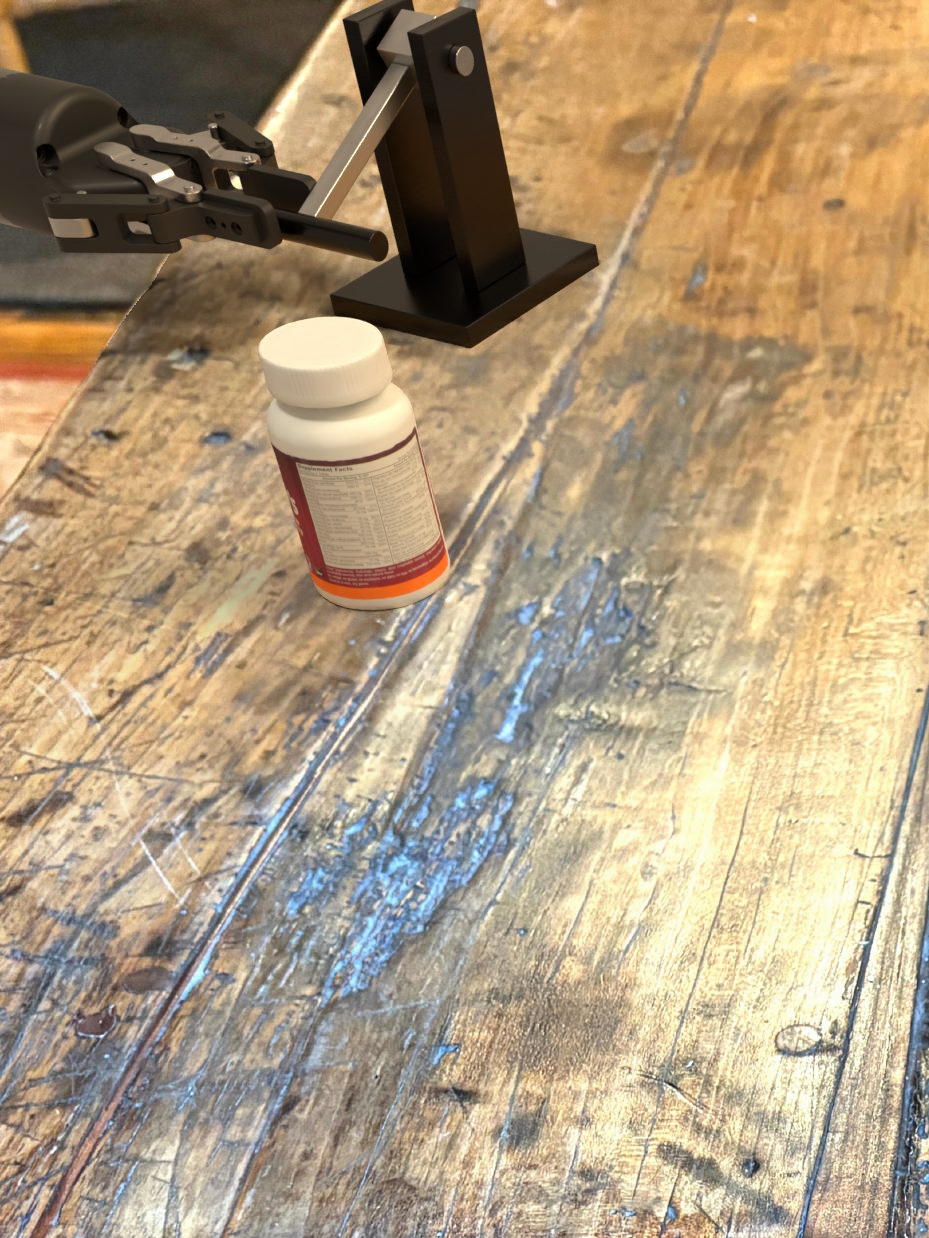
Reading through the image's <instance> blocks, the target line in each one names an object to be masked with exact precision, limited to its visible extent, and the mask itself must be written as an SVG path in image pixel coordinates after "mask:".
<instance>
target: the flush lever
mask: <svg viewBox="0 0 929 1238" xmlns="http://www.w3.org/2000/svg"><path fill="white" fill-rule="evenodd" d="M437 17H438V16H437V15H435V14H430V13H424V12H420V11H416V10H415V11H410V10H405V9H401V11H400V12H399V14H398V15H397V17H396V19H395V20H394V22H393V23H392V25H391V26H390V28H389V30H388V31H387V33H386V34H385V36H384V38H383V39H382V41H381V42H380V44H379V45H378V47H377V51H378V52H379V54H380V56H381V57H382V59H383V61H384V62H385V64H386V66H387V67H388V70H387V71H386V73H385V74H384V76H383V78H382V79H381V81H380V82H379V84H378V85H377V87H376V89H375V90H374V92H373V93H372V95H371V97H370V98H369V100H368V101H367V103H366V105H365V106H364V108H362V109H361V111H360V113H359V114H358V116H357V117H356V119H355V120H354V122H353V124H352V126H351V127H350V129H348V132H347V133H346V135H345V137H344V138H343V140H342V141H341V143H340V144H339V146H338V148H337V149H336V151H335V152H334V153H333V156H332V157H331V159H330V160H329V162H328V164H327V165H326V166H325V168H324V170H323V171H322V173H321V174H320V176H319V178H318V180H316V182H317V183H316V184H315V186H314V187H313V189H312V191H311V192H310V194H309V195H308V197H307V199H306V200H305V202H304V203H303V205H302V207H301V208H300V210H299V211H298V212H295V211H291V210H286V209H282V208H277V207H273V208H274V210H275V213H276V216H277V220H278V223H279V227H280V230H281V234H282V238H283V240H282V241H287V242H291V243H295V244H300V245H304V246H308V247H312V248H317V249H321V250H325V251H329V252H334V253H338V254H343V255H347V256H351V257H355V258H359V259H363V260H368V261H372V262H376V263H380V262H383V261H385V260H386V258H387V257H388V254H389V249H390V244H389V240H388V237H387V235H386V234H385V233H384V232H383V231H381V230H377V229H373V228H368V227H364V226H359V225H355V224H352V223H347V222H342V221H338V220H333V218H334V216H336V215H335V214H336V213H337V212H338V210H339V208H340V207H341V205H342V204H343V202H344V200H345V199H346V197H347V195H348V194H349V192H350V191H351V189H352V188H353V186H354V184H355V183H356V181H357V179H358V178H359V176H360V175H361V173H362V171H363V170H364V169H365V166H366V165H367V164H368V161H369V160H370V158H371V157H372V155H373V154H374V150H375V149H376V147H377V146H378V144H379V142H380V141H381V139H382V138H383V136H384V134H385V133H386V131H387V129H388V128H389V126H390V125H391V123H392V121H393V120H394V118H395V117H396V115H397V113H398V112H399V110H400V109H401V107H402V105H403V104H404V102H405V101H406V99H407V97H408V96H409V94H410V92H411V91H412V89H413V90H418V91H420V89H419V85H418V80H417V76H416V71H415V67H414V62H413V58H412V53H411V49H410V44H409V40H408V35H407V32H408V31H410V30H412V29H414V28H416V27H418V26H421V25H423V24H425V23H427V22H429V21H431V20H433V19H435V18H437Z"/></svg>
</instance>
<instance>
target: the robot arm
mask: <svg viewBox="0 0 929 1238" xmlns="http://www.w3.org/2000/svg"><path fill="white" fill-rule="evenodd" d="M206 118H207V121H208V125H207V128H208V129H207V130H204V131H200V132H199V131H198V132H195V133H191V134H186V133H185V132H184V131H183V130H181V129H178V128H176V127H172V126H162V125H154V124H149V123H147V124H146V123H144V124H143V123H142V124H141V122H139V121H138V120H137V119H136V118H135V117H134V116H133V115H132V114H131V113H130V112H129V111H128V110H127V109H126V108H125V107H124V106H123V105H122V104H121V103H120V102H119V101H117V100H116V99H115V98H114V97H112V96H111V95H110V94H108V93H106V92H105V91H102V90H101V89H98V88H96V87H93V86H89V85H84V84H79V83H74V82H70V81H66V80H61V79H57V78H52V77H47V76H43V75H37V74H35V73H34V74H33V73H28V72H23V71H20V70H14V69H10V68H5V67H0V224H3V225H6V226H10V227H15V228H20V229H23V230H27V231H32V232H36V233H40V234H45V235H48V236H53V237H54V238H55V241H56V244H57V246H58V249H59V251H60V252H62V253H68V254H149V255H150V254H151V255H152V254H157V255H158V254H159V255H160V254H161V255H167V254H168V255H169V254H175V253H177V252H180V251H181V250H182V249H183V245H182V242H181V241H182V240H184V239H186V240H190V241H192V242H196V243H209V242H212V241H214V240H216V239H217V238H218V239H222V240H226V241H229V242H230V241H231V242H235V243H239V244H244V245H248V246H251V247H256V248H261V249H265V250H272V249H274V248H276V247H277V246H279V245H281V244H282V243H283V241H284V240H283V238H282V234H281V230H280V227H279V223H278V220H277V216H276V213H275V210H274V208H273V207H277V208H282V209H286V210H291V211H295V212H298V211H299V210H300V208H301V207H302V205H303V203H304V202H305V200H306V199H307V197H308V195H309V194H310V192H311V191H312V189H313V187H314V186H315V184H316V183H317V180H316V178H314V177H313V176H312V175H309V174H305V173H301V172H297V171H292V170H287V169H282V168H279V164H278V161H277V157H276V154H275V153H276V150H275V146H274V142H273V141H272V140H271V139H270V138H268V137H267V136H265V135H264V134H262V133H261V132H260V131H258V130H257V129H255V128H254V127H252V126H250V125H249V124H248V123H246V122H245V121H244V120H242V119H241V118H239V117H237V116H236V115H234V114H233V113H232V112H230V111H227V110H215V111H212V112H210V113H208V114H207V116H206ZM230 173H233V174H234V175H235V176H237V177H238V178H239V183H240V184H241V188H237V187H236V186H234V184H233V182H232V180H231V176H230ZM137 232H142V233H137Z"/></svg>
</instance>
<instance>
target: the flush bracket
mask: <svg viewBox="0 0 929 1238" xmlns="http://www.w3.org/2000/svg"><path fill="white" fill-rule="evenodd" d="M401 9H405V10H410V11H415V12H416V10H415V5H414V1H413V0H380V1H378V2H376V3H374V4H372V5H370V6H367V7H365V8H363V9H361V10H359V11H356V12H354V13H352V14H349V15H348V16H346V17H344V18H342V19H341V21H342V24H343V28H344V33H345V37H346V41H347V46H348V50H349V53H350V58H351V63H352V67H353V71H354V75H355V79H356V82H357V83H356V84H357V88H358V92H359V96H360V99H361V104H362V107H363V108H364V106H365V105H366V103H367V101H368V100H369V98H370V97H371V95H372V93H373V92H374V90H375V89H376V87H377V85H378V84H379V82H380V81H381V79H382V78H383V76H384V74H385V73H386V71H387V70H388V67H387V66H386V64H385V62H384V61H383V59H382V57H381V56H380V54H379V52H378V51H377V47H378V45H379V44H380V42H381V41H382V39H383V38H384V36H385V34H386V33H387V31H388V30H389V28H390V26H391V25H392V23H393V22H394V20H395V19H396V17H397V15H398V14H399V12H400V11H401ZM407 35H408V40H409V44H410V49H411V53H412V58H413V62H414V67H415V71H416V76H417V80H418V85H419V89H420V91H418V90H413V89H412V91H411V92H410V94H409V96H408V97H407V99H406V101H405V102H404V104H403V105H402V107H401V109H400V110H399V112H398V113H397V115H396V117H395V118H394V120H393V121H392V123H391V125H390V126H389V128H388V129H387V131H386V133H385V134H384V136H383V138H382V139H381V141H380V142H379V144H378V146H377V147H376V149H375V150H374V152H373V154H374V158H375V162H376V166H377V170H378V174H379V179H380V183H381V186H382V191H383V194H384V195H383V196H384V200H385V203H386V207H387V211H388V217H389V219H390V223H391V229H392V233H393V235H394V241H395V244H396V248H397V254H396V255H395V256H393V257H391V258H389V259H388V260H386V261H384V262H382V263H381V264H379V265H377V266H376V267H374V268H373V269H371V270H369V271H367V272H366V273H364V274H362V275H360V276H358V277H357V278H355V279H353V280H352V281H350V282H348V283H347V284H345V285H343V286H342V287H340V288H338V289H336V290H335V291H333V292H331V293H329V300H330V303H331V308H332V311H333V314H334V317H346V318H353V319H358V320H361V321H364V322H367V323H369V324H371V325H373V326H375V327H379V328H383V329H388V330H392V331H396V332H399V333H404V334H409V335H411V336H412V335H413V336H416V337H420V338H424V339H429V340H434V341H436V342H441V343H446V344H450V345H453V346H458V347H462V348H466V349H473V348H475V347H476V346H477V345H479V344H481V343H482V342H484V341H485V340H487V339H488V338H490V337H491V336H493V335H495V334H496V333H497V332H499V331H500V330H502V329H504V328H505V327H507V326H508V325H510V324H511V323H513V322H515V321H516V320H517V319H519V318H520V317H522V316H523V315H525V314H527V313H528V312H530V311H531V310H534V308H536V307H537V306H539V305H541V304H542V303H544V302H545V301H547V300H548V299H549V298H551V297H553V296H554V295H556V294H557V293H559V292H561V291H562V290H563V289H565V288H567V287H568V286H569V285H571V284H572V283H574V282H576V281H577V280H579V279H580V278H582V277H583V276H586V274H588V273H589V272H592V271H593V270H595V269H596V268H597V267H599V266H600V260H599V253H598V248H597V244H595V243H591V242H586V241H583V240H578V239H573V238H569V237H564V236H561V235H555V234H550V233H546V232H543V231H542V232H541V231H537V230H534V229H529V228H524V227H520V223H519V219H518V214H517V209H516V204H515V199H514V195H513V189H512V184H511V179H510V175H509V169H508V165H507V159H506V154H505V149H504V145H503V139H502V134H501V129H500V123H499V119H498V114H497V110H496V104H495V99H494V94H493V89H492V85H491V84H492V83H491V79H490V74H489V69H488V65H487V59H486V55H485V49H484V44H483V40H482V34H481V30H480V24H479V19H478V13H477V10H476V8H473V7H467V6H461V5H460V6H458V7H455V8H453V9H451V10H449V11H447V12H445V13H443V14H441V15H439V16H437V18H435V19H433V20H431V21H429V22H427V23H425V24H423V25H421V26H418V27H416V28H414V29H412V30H410V31H408V32H407ZM363 108H362V109H363Z"/></svg>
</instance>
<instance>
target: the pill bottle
mask: <svg viewBox="0 0 929 1238" xmlns="http://www.w3.org/2000/svg"><path fill="white" fill-rule="evenodd" d="M259 341H260V342H259V344H258V346H257V354H258V358H259V361H260V365H261V368H262V369H261V370H262V373H263V376H264V381H265V384H266V388H267V391H268V393H269V394H270V395H271V396H272V397H273V399H272V401H271V403H270V405H268V409H267V412H266V418H265V419H266V420H265V422H266V428H267V429H266V430H267V433H268V437H269V438H268V439H269V441H270V445H271V447H272V451H273V453H274V455H275V456H274V457H275V460H276V462H277V465H278V469H279V472H280V475H281V480H282V482H283V486H284V489H285V492H286V495H287V499H288V503H289V506H290V509H291V513H292V515H293V520H294V523H295V526H296V530H297V534H298V537H299V540H300V544H301V546H302V550H303V553H304V556H305V560H306V563H307V566H308V570H309V573H310V577H311V579H312V582H313V585H314V587H315V589H316V590H317V592H318V594H320V595H321V597H323V598H324V599H325V600H327V601H328V602H330V603H333V604H334V605H337V606H339V607H343V608H346V609H351V610H360V611H386V610H392V609H398V608H403V607H407V606H410V605H412V604H416V603H419V602H420V601H423V600H424V599H426V598H428V597H429V596H431V595H433V594H435V592H437V591H438V590H439V589H440V588H441V587H442V586H443V585H444V584H445V582H446V581H447V579H448V577H449V575H450V571H451V559H450V554H449V550H448V546H447V543H446V538H445V534H444V530H443V525H442V523H441V517H440V513H439V511H438V505H437V502H436V498H435V495H434V490H433V487H432V483H431V478H430V474H429V471H428V467H427V462H426V458H425V455H424V449H423V446H422V443H421V438H420V433H419V430H418V424H417V420H416V415H415V413H414V408H413V406H412V402H411V401H410V399H409V397H408V396H407V395H406V394H405V392H404V391H403V390H402V389H401V388H400V387H398V385H396V384H395V383H393V382H392V380H393V375H394V374H393V369H392V365H391V362H390V360H389V359H390V358H389V356H388V353H387V347H386V344H385V340H384V336H383V334H382V332H381V331H380V330H379V329H378V328H377V326H375V325H371V324H369V323H367V322H364V321H361V320H358V319H353V318H346V317H338V316H317V317H310V318H304V319H300V320H296V321H292V322H289V323H286V324H285V323H284V324H282V325H281V326H278V327H276V328H274V329H272V330H271V331H270V332H268V333H266V334H265V335H264V336H263V337H262V338H261V340H259Z"/></svg>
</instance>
